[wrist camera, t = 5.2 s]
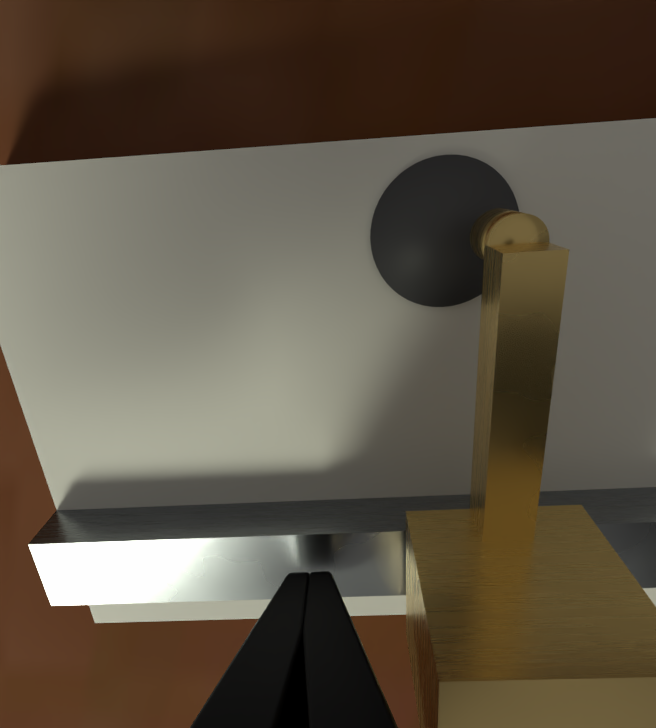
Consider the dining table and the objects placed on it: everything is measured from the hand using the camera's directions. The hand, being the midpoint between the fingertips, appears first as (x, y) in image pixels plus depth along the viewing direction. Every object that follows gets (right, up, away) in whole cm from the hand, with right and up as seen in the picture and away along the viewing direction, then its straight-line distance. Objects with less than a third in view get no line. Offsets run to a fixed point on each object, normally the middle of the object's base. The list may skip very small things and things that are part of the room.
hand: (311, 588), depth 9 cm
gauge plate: (+6, +4, +2) cm, 8 cm away
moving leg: (+3, +3, 0) cm, 4 cm away
